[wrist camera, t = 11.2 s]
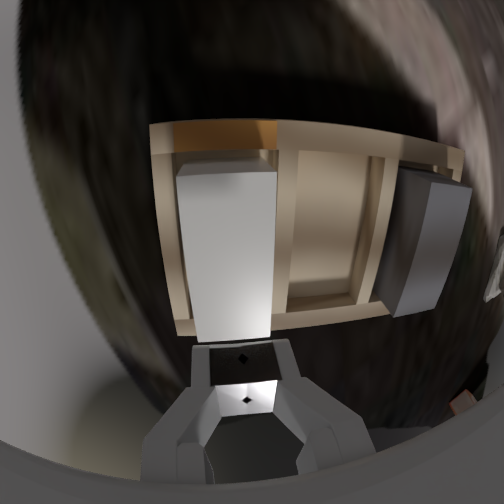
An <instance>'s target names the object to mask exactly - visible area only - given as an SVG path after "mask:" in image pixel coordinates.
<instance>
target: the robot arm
mask: <svg viewBox="0 0 504 504" xmlns="http://www.w3.org/2000/svg"><path fill="white" fill-rule="evenodd" d="M265 412H273V413H274V414H275V415H276V416H277V417H278V418H279V419H280V420H281V421H282V422H283V423H284V424H285V425H286V426H287V427H288V428H289V429H290V430H291V431H292V432H293V433H294V434H295V435H296V436H297V437H298V438H299V439H300V440H301V441H302V442H303V443H304V444H305V445H304V447H303V449H302V451H301V453H300V455H299V457H298V459H297V461H296V464H297V468H298V472H299V475H295V476H289V477H283V478H277V479H270V480H262V481H254V482H243V483H229V484H214V475H213V470H212V467H211V465H210V462H209V460H208V457H207V455H206V452H205V450H204V446H205V444H206V443H207V441H208V439H209V438H210V436H211V434H212V432H213V431H214V429H215V427H216V426H217V424H218V422H219V421H220V419H221V416H232V415H242V414H253V413H265ZM0 504H504V383H503V384H502V385H501V386H500V387H498V388H497V389H496V390H494V391H493V392H491V393H490V394H489V395H487V396H486V397H484V398H483V399H481V400H480V401H478V402H477V403H475V404H474V405H472V406H471V407H469V408H468V409H466V410H464V411H463V412H461V413H459V414H458V415H456V416H454V417H453V418H451V419H449V420H447V421H446V422H444V423H442V424H440V425H438V426H436V427H434V428H432V429H430V430H428V431H426V432H424V433H422V434H420V435H418V436H416V437H414V438H412V439H410V440H407V441H405V442H403V443H400V444H398V445H396V446H393V447H391V448H388V449H386V450H383V451H381V452H378V453H376V451H375V449H374V446H373V444H372V441H371V439H370V436H369V434H368V431H367V429H366V427H365V424H364V422H363V420H362V417H360V416H359V415H358V414H356V413H355V412H353V411H352V410H350V409H349V408H347V407H346V406H345V405H343V404H342V403H340V402H339V401H338V400H336V399H335V398H333V397H332V396H331V395H329V394H328V393H326V392H325V391H324V390H322V389H321V388H320V387H318V386H317V385H316V384H314V383H313V382H312V381H310V380H309V379H308V378H306V377H302V378H301V376H300V373H299V370H298V367H297V364H296V361H295V357H294V354H293V351H292V348H291V345H290V342H289V340H288V339H280V340H272V341H271V340H270V341H261V342H251V343H240V344H224V345H193V349H192V373H191V387H186V389H185V390H184V391H183V392H182V394H181V395H180V396H179V397H178V398H177V400H176V401H175V402H174V403H173V405H172V406H171V407H170V408H169V409H168V411H167V412H166V413H165V414H164V415H163V417H162V418H161V419H160V420H159V421H158V423H157V424H156V425H155V426H154V428H153V429H152V430H151V431H150V432H149V433H148V435H147V436H146V437H145V438H144V440H143V449H142V462H141V479H140V481H138V480H131V479H124V478H118V477H113V476H107V475H102V474H98V473H93V472H88V471H84V470H81V469H77V468H73V467H70V466H66V465H63V464H60V463H56V462H53V461H50V460H47V459H44V458H42V457H39V456H36V455H33V454H31V453H28V452H26V451H23V450H21V449H19V448H16V447H14V446H12V445H10V444H7V443H5V442H3V441H1V440H0Z"/></svg>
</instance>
